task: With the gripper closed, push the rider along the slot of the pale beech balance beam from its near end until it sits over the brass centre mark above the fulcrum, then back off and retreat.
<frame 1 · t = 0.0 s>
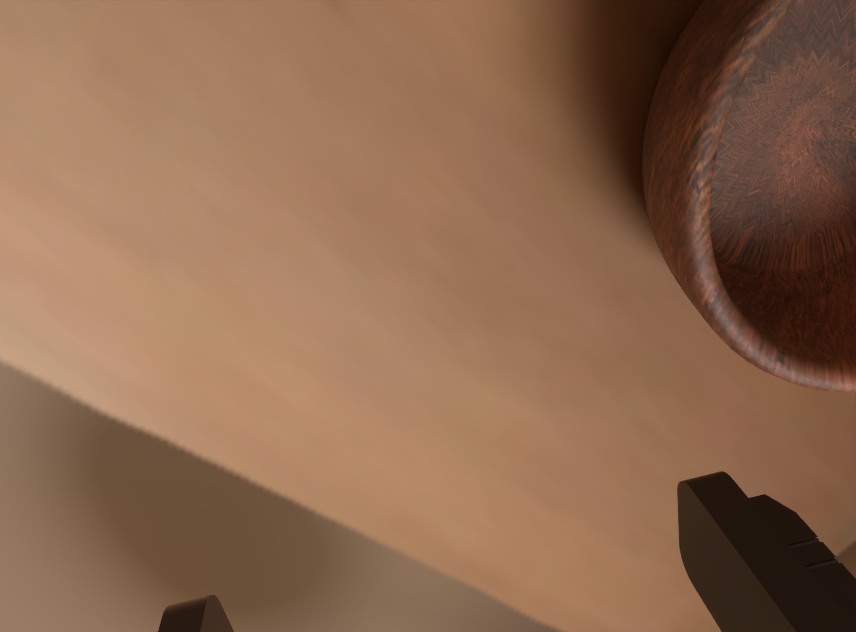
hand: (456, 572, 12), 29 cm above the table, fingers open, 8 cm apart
wooden bowl: (804, 123, 40), on the table
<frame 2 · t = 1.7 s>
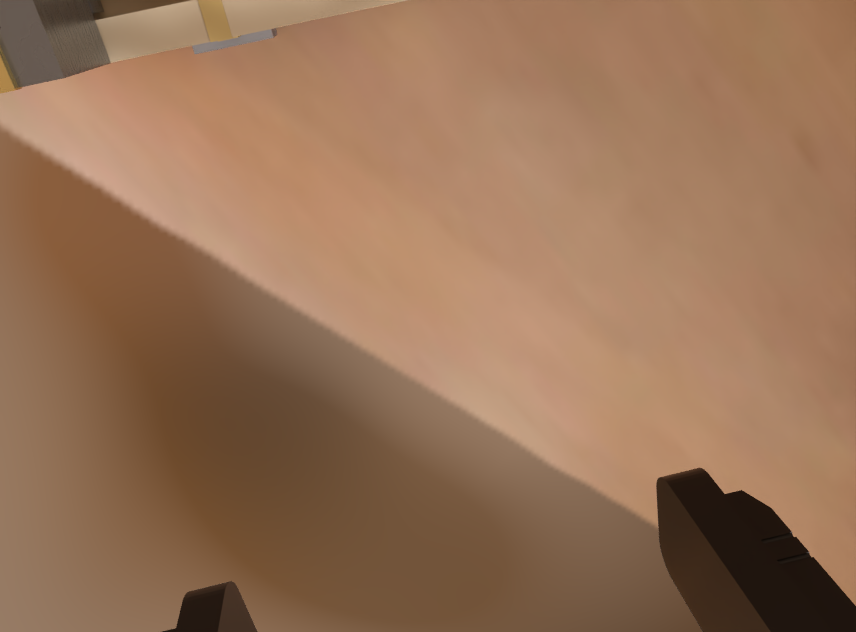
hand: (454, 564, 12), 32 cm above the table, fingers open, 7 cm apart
rider: (15, 0, 27), point 9 cm above the table, slide at 0.0 cm
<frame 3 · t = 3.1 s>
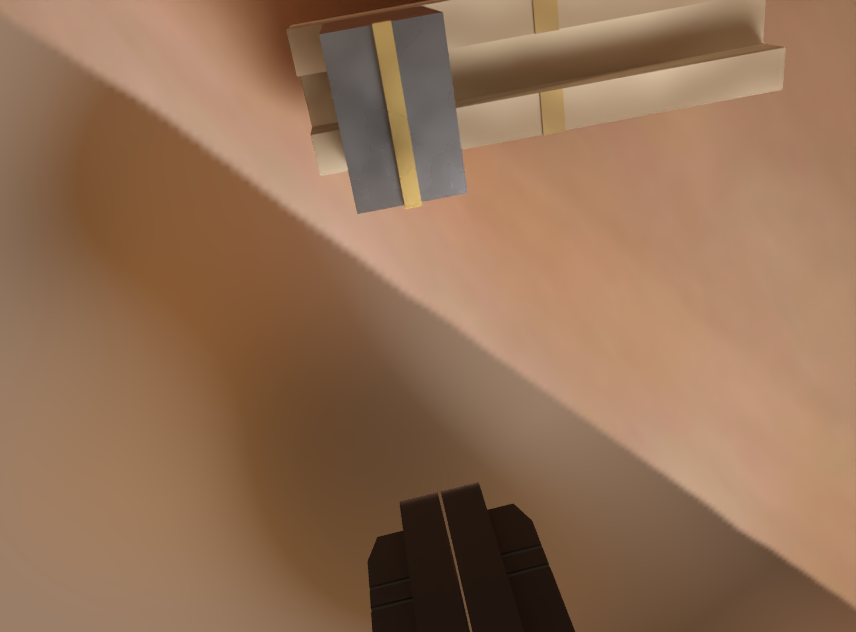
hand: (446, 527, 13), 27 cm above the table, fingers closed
beam: (514, 48, 34), on the table
rider: (390, 101, 26), point 9 cm above the table, slide at 0.0 cm
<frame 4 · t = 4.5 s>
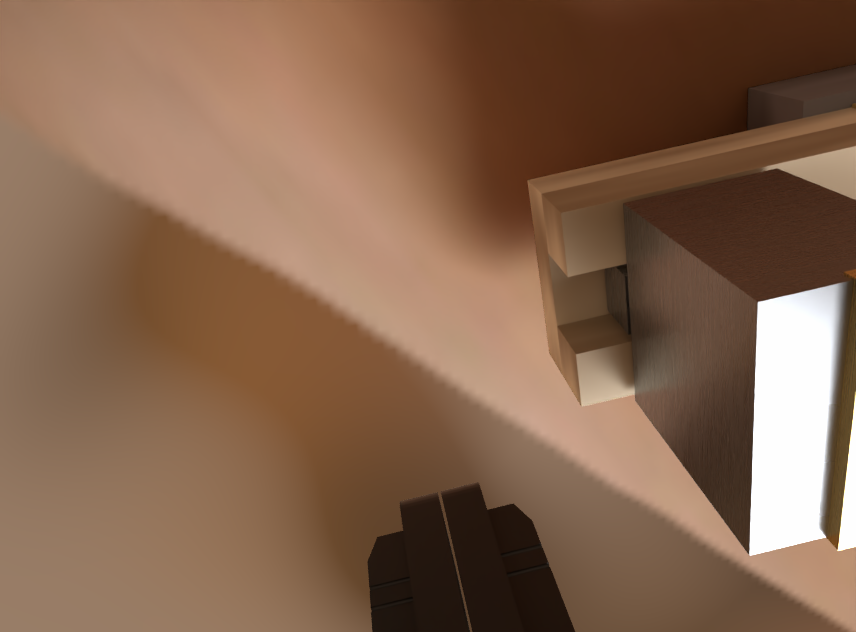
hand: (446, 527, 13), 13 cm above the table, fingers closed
beam: (799, 176, 24), on the table
rider: (747, 330, 16), point 9 cm above the table, slide at 0.0 cm
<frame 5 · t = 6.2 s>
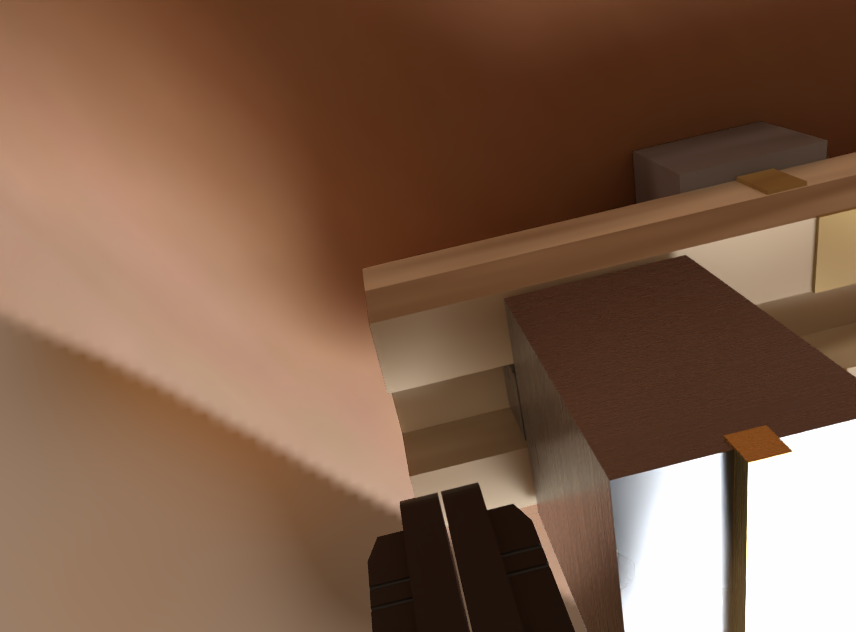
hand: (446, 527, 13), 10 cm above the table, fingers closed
beam: (699, 244, 22), on the table
rider: (647, 453, 14), point 9 cm above the table, slide at 1.4 cm, touching gripper
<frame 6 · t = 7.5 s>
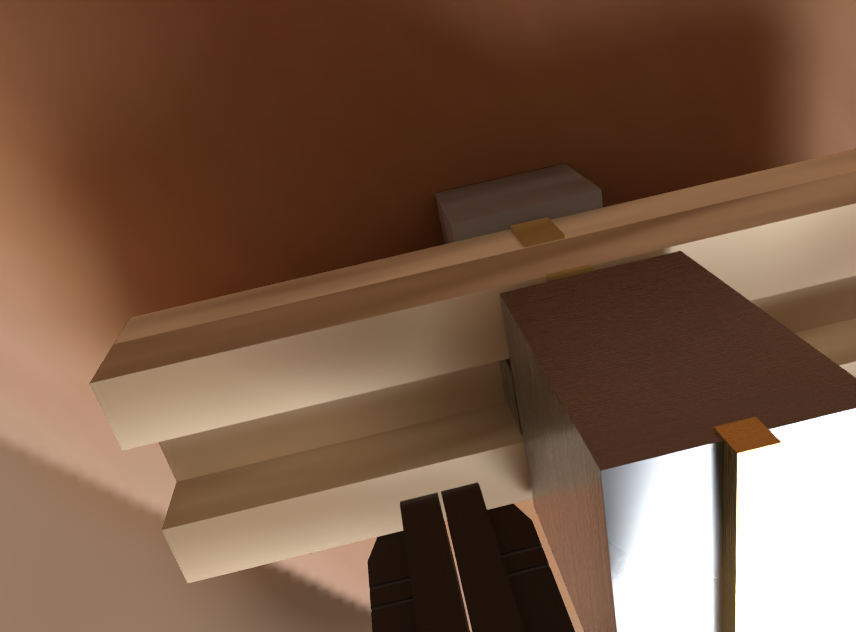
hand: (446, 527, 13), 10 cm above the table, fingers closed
beam: (515, 284, 22), on the table
rider: (641, 447, 14), point 9 cm above the table, slide at 7.4 cm, touching gripper
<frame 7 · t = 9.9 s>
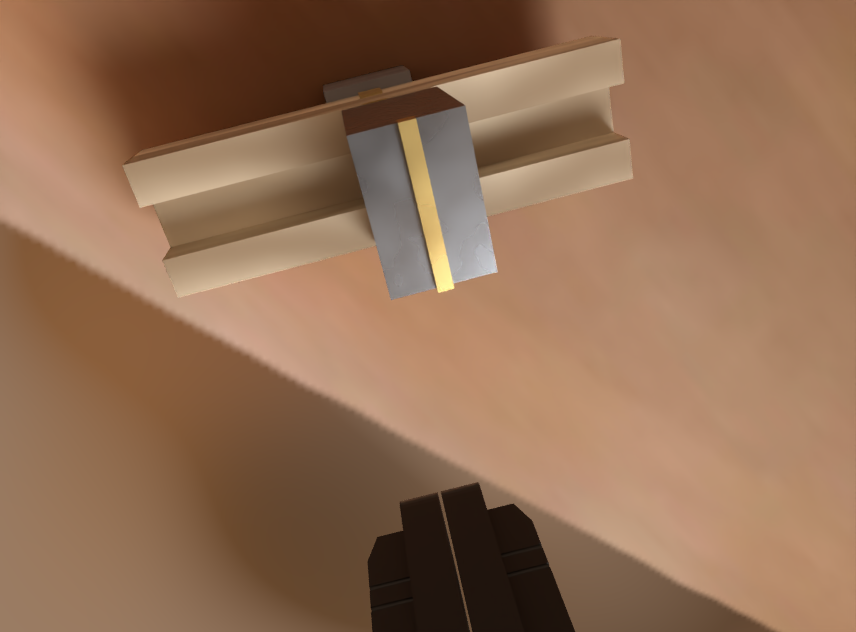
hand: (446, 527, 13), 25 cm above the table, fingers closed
beam: (380, 145, 35), on the table
rider: (412, 182, 27), point 9 cm above the table, slide at 7.6 cm
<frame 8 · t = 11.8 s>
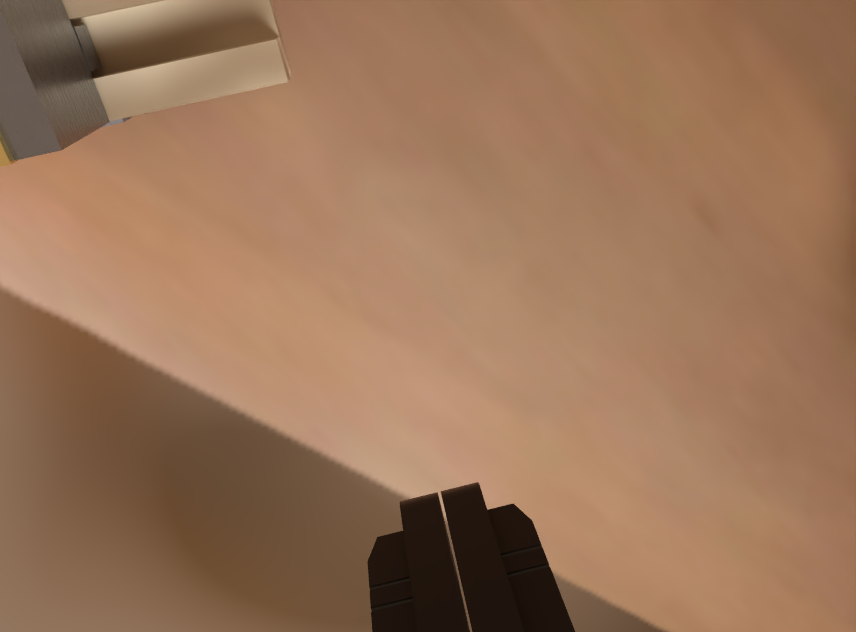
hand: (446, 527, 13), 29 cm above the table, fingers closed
beam: (73, 51, 34), on the table
rider: (10, 65, 26), point 9 cm above the table, slide at 7.6 cm
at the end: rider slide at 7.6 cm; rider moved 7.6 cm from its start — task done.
